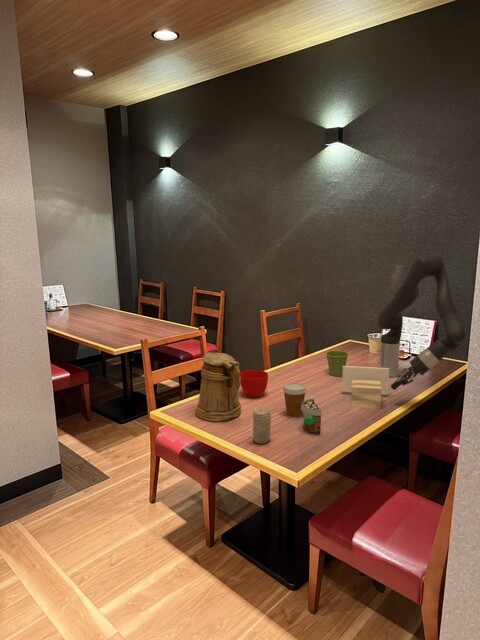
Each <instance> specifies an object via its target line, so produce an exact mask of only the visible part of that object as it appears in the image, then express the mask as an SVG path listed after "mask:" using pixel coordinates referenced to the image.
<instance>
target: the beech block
mask: <svg viewBox="0 0 480 640" xmlns="http://www.w3.org/2000/svg"><path fill="white" fill-rule="evenodd" d="M350 399H351V401H350V404H351V405H350V406H351V407H352V408H365V409H378V410H379V409H381V406H382V405H381V403H382V397H381V382H380V381H374V380H358V379H352V395H351V398H350Z"/></svg>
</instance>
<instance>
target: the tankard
mask: <svg viewBox="0 0 480 640" xmlns="http://www.w3.org/2000/svg"><path fill="white" fill-rule="evenodd" d="M202 362H203V364H202V366H201V370H200V375H201V382H200V390H199V397H198V403H197V405H196V408H195V409H196V410H195V415H196V416H197V417H198V418H199V419H202V420H204V421H209V422H215V423H216V422H217V423H218V422H227V421H229V420H233V419H235V418H238V416H240V414H241V412H242V406H241V402H240V401H239V394H238V393H239V390H240V387H241V375H240V373H241V369H240V366H241V364H240V362H238V361H236V360H235V358H234V357H232V355H229V354H228V353H225V352H224V353H223V352H207V353H206V354H205V355H204V356H203V357H202Z"/></svg>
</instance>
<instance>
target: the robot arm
mask: <svg viewBox="0 0 480 640" xmlns="http://www.w3.org/2000/svg"><path fill="white" fill-rule="evenodd" d="M430 277H434V280H435V282H436V294H435V299H434V300H435V301H434V302H435V308H436V311H437V314H438V315H439V319H440V320H441V322H442V326H443V329H444V332H445V335H443V336H442V337H441V338H440V339H438V340H435V341H433V342H432V343H431V344H430V345H428V346H427V347H426V348H425V349H424V350H422V351H421V352H420V353H418V354H417V355H416V356H414V357H413V358H412V359H411V360H410V361H409V364H410V366H409V367H405V368H403V370H402V371H401V372H400V374H399V366H400V365H399V364H400V363H399V362H400V346H401V345H400V343H401V338H402V333H403V332H402V331H403V323H404V320H403V319H404V318H403V313H402V312H403V311H405V310H407V309H408V308H410V307H412V306H413V304H414V303H415V302H416V301H417V299H418V297H419V296H420V288H419V283H420V282H422V280H423V279H424V278H430ZM377 325H378V327H379V328H380V329H381V330H388V331H387V333H384V334H382V335H381V336H380V346H379V347H380V348H379V349H380V351H379V366H378V368H389V378H395V377H397V379H396V380H395V381H393V383H392V384H390V388H391V389H392V390H394V391H395V390H397V389H398V388H399V387H400V386H406V385H409V384H411V383H412V382H414V379H415V378H416V377H417V375H418V374H419V375H420V376H424V375H425V374H426V373H428V372H429V371H430V370H431V369H432V368H434V367H435V366H436V365H437V364H438V363H439V362H440V361H441V360H442V359H444V358H445V357H446V356H448V354H449V353H451V352H452V351H454V350H455V349H457V348H459V347H460V346H461V345H463V344H464V343H465V342H466V341H467V339H468V333H467V331H466V329H465V327H464V325H463V322H462V321H461V319H460V314H459V311H458V309H457V306H456V304H455V302H454V299H453V295H452V293H451V289H450V283H449V278H448V276H447V270H446V266H445V263H444V260H443V258H442V256H441V255H440V254H438V253H432V254H431V253H430V254H425V255H424V254H423V255H419V256H418V257H415V259H414V260H413V262H412V264H411V266H410V268H409V271H408V272H407V275H406V276H405V278H404V280H403V281H402V283H401V285H400V286H399V287H398V289H397V290H396V292H395V293H394V295H393V297H392V298H391V299H390V301H388V303H387V305H386V306H385V307H384V308H383V309H382V310H381V311H380V312H379V315H378V317H377Z"/></svg>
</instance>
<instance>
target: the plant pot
mask: <svg viewBox="0 0 480 640" xmlns="http://www.w3.org/2000/svg"><path fill="white" fill-rule="evenodd" d="M349 355H350V353H349V352H347V351H344V350H329V351H326V352H325V356H326V359H327V364H328V365H327V366H328V370H329V375H330V376H331V377H332V376H333V377H339V376H340V377H343V366H347V360H348V356H349Z"/></svg>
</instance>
